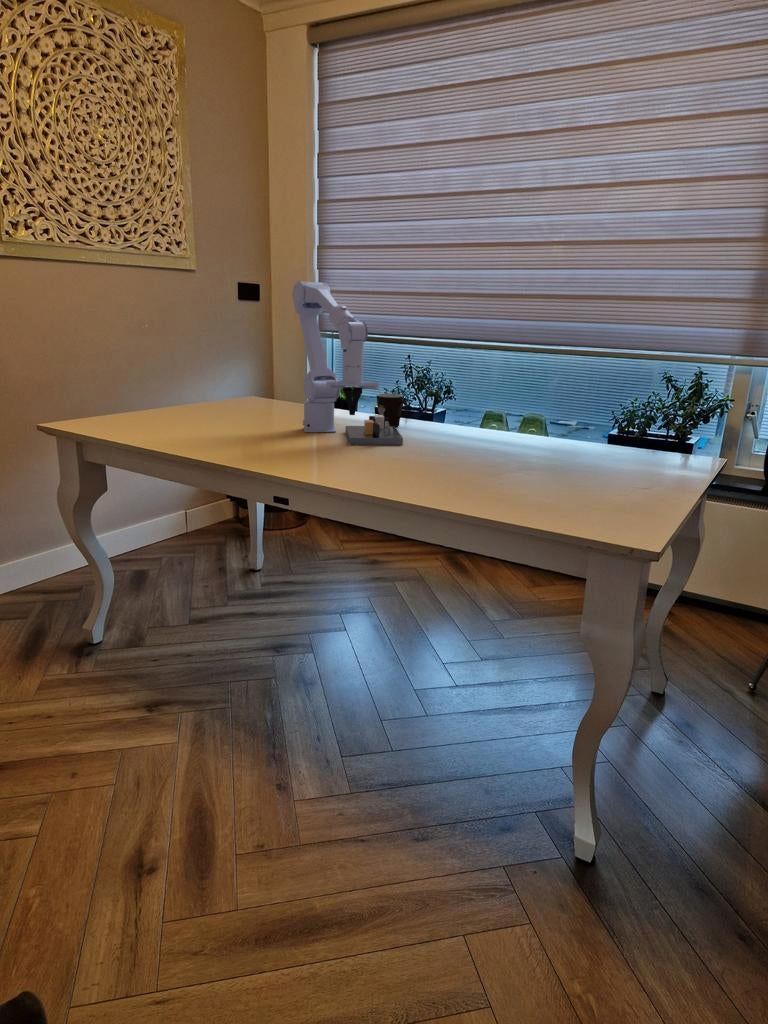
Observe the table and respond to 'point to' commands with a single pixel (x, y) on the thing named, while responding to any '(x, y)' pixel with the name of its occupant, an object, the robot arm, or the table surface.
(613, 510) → the table surface
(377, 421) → the toggle white
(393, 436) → the panel
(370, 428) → the toggle orange
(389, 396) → the coffee mug
